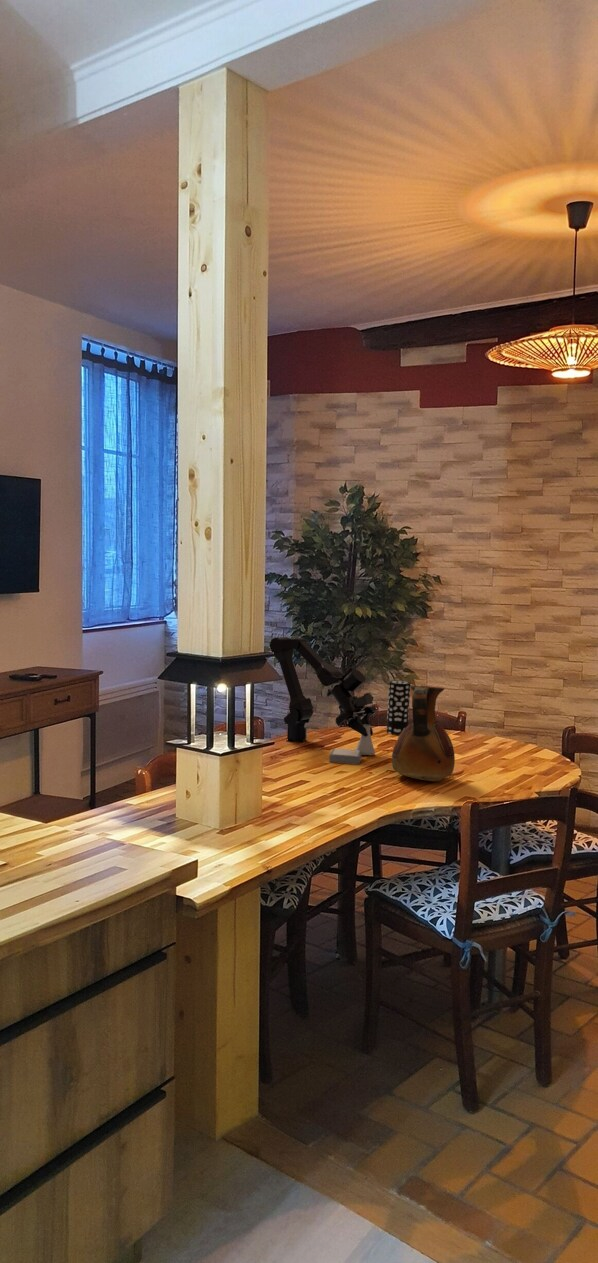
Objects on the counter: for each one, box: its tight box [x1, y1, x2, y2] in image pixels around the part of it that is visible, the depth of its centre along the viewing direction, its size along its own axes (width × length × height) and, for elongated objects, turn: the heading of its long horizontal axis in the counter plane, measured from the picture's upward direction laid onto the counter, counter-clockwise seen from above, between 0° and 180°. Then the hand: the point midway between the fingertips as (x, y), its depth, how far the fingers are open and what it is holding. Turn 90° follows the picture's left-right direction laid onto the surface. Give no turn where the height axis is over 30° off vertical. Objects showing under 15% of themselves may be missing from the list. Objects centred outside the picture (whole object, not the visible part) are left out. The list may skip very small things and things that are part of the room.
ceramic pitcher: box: [391, 684, 456, 782], centre depth 291 cm, size 20×20×30 cm
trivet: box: [329, 748, 363, 765], centre depth 314 cm, size 10×10×3 cm
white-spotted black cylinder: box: [385, 680, 412, 736], centre depth 363 cm, size 8×8×20 cm
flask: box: [355, 724, 376, 756], centre depth 323 cm, size 7×7×10 cm
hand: (369, 735), depth 322 cm, fingers closed on flask, 3 cm apart
